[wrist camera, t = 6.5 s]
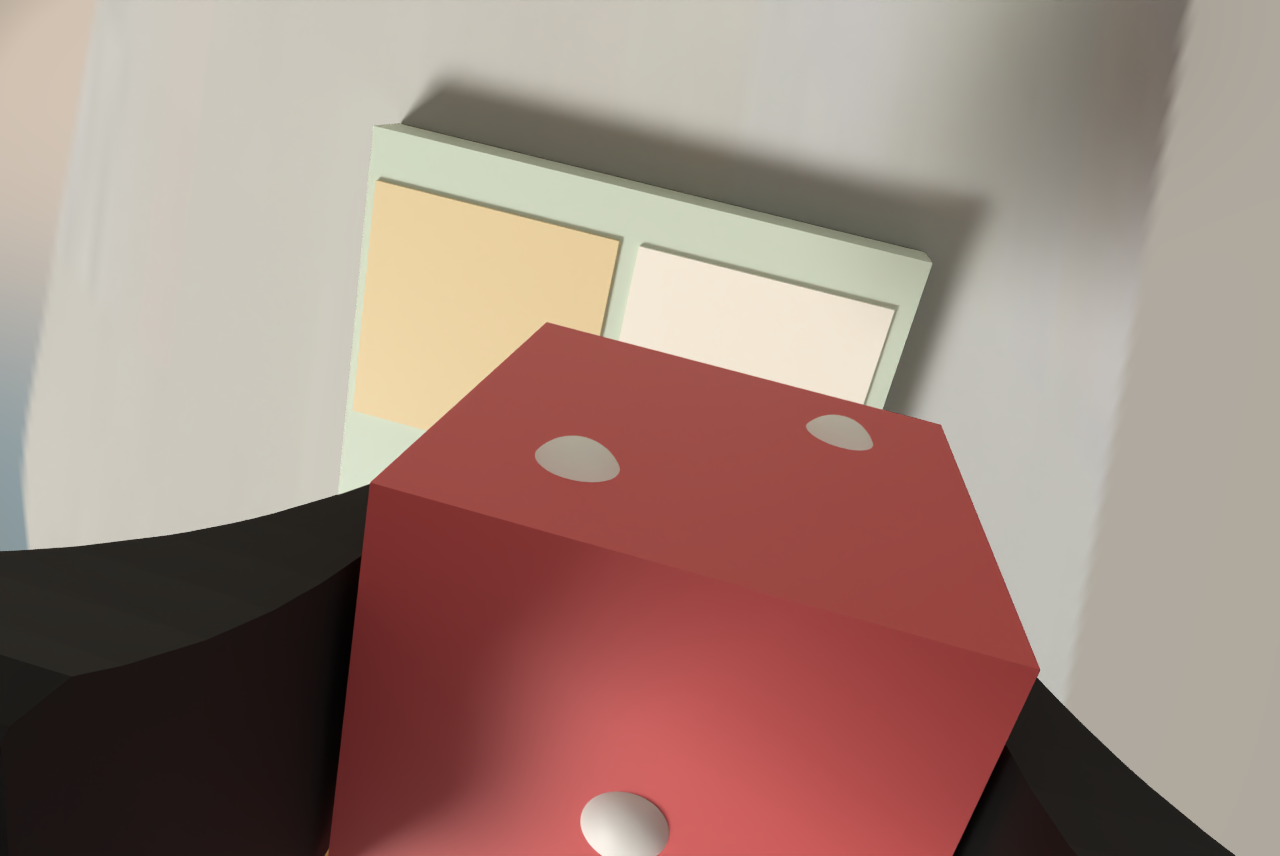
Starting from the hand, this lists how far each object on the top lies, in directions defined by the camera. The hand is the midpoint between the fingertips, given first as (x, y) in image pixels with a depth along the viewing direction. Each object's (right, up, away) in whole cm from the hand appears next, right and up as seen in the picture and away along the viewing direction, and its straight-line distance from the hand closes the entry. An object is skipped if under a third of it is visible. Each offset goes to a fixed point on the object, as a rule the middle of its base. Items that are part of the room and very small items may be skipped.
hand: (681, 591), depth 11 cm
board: (-2, 0, +10) cm, 10 cm away
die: (0, 0, +1) cm, 1 cm away
